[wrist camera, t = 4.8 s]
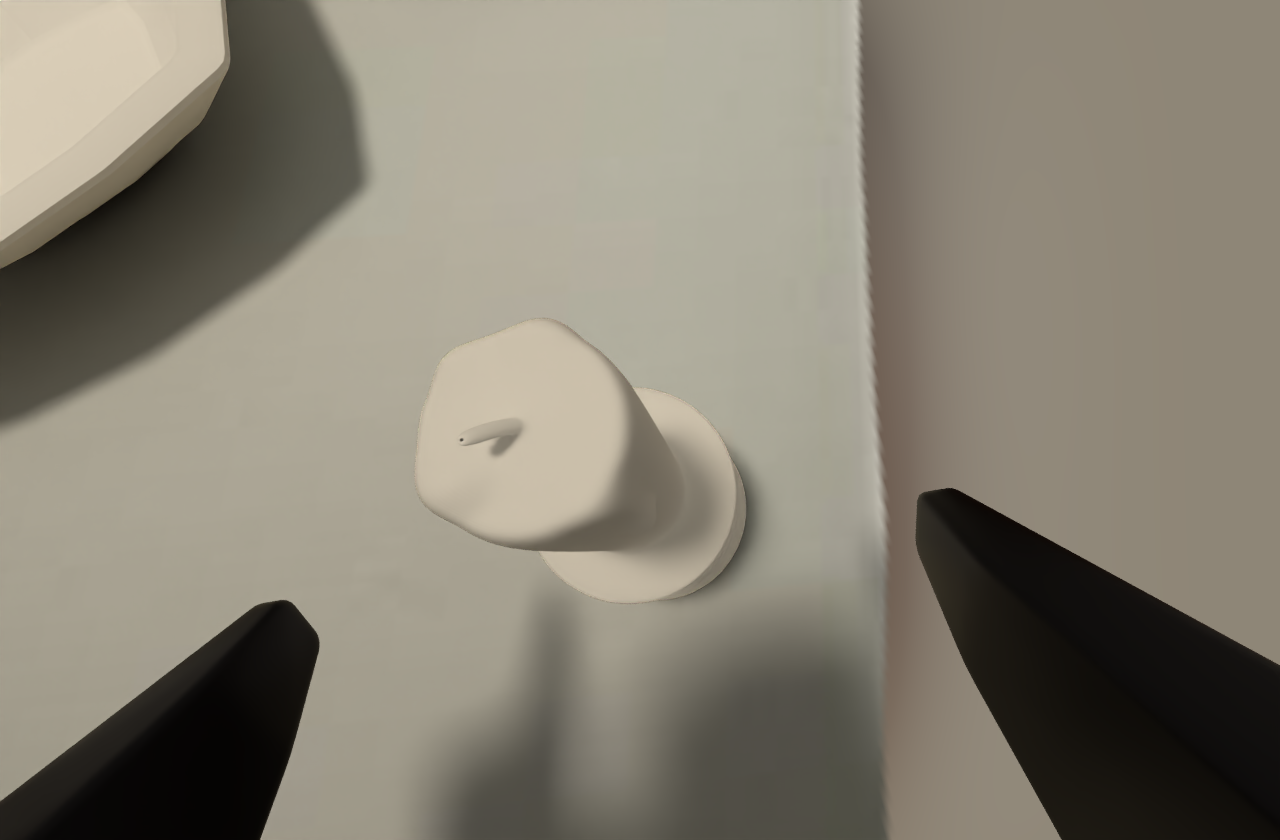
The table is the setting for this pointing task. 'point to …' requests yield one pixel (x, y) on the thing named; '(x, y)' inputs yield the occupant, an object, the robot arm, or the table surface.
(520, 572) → the table surface
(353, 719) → the table surface
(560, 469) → the candle
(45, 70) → the bowl
